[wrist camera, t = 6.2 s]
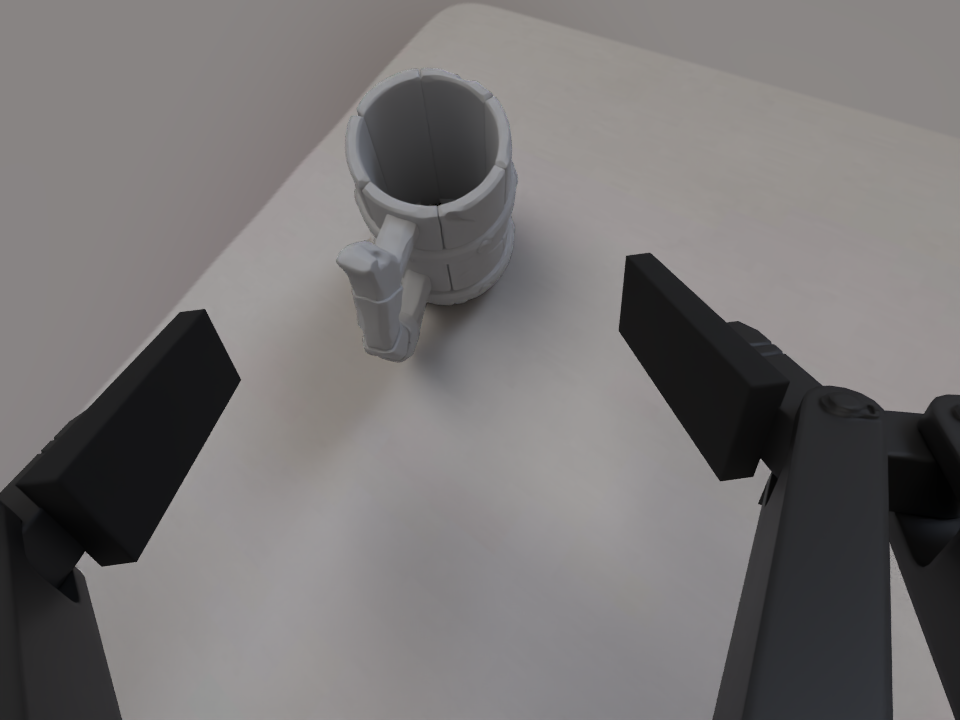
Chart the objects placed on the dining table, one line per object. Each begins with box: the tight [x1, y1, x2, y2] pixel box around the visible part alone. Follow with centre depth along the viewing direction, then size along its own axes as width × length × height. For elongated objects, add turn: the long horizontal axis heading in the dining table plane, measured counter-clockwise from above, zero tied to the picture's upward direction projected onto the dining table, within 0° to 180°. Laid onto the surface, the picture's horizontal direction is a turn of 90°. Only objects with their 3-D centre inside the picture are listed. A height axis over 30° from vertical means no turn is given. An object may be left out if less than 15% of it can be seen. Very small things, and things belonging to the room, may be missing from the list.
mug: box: [336, 68, 518, 362], centre depth 20 cm, size 8×12×12 cm, turn 161°
